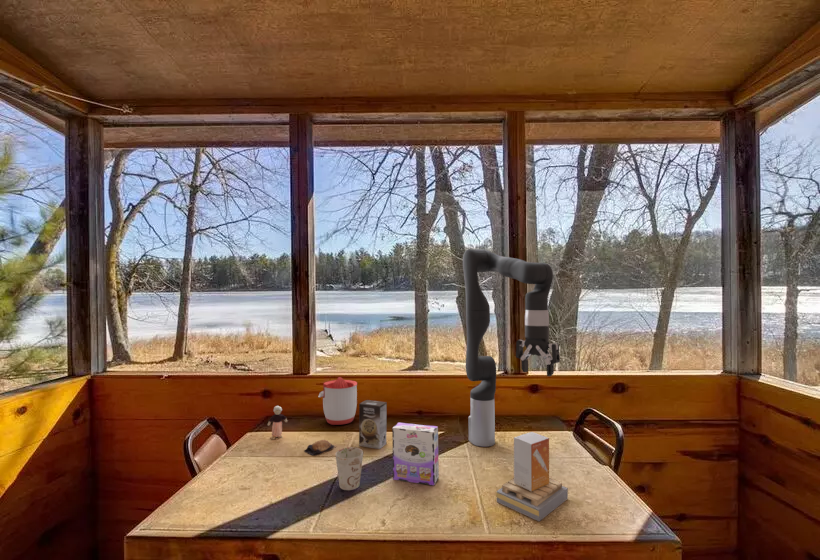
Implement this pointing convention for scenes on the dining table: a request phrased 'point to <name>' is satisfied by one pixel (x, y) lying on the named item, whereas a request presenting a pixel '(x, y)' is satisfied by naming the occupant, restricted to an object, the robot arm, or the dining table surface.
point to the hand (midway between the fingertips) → (537, 373)
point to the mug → (349, 467)
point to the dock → (526, 506)
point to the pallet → (536, 495)
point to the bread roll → (319, 448)
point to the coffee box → (372, 424)
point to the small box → (531, 461)
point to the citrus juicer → (339, 401)
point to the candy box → (415, 453)
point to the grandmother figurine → (277, 422)
